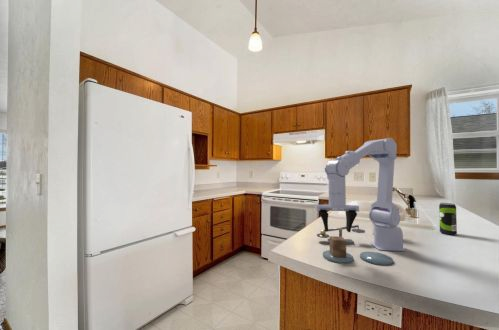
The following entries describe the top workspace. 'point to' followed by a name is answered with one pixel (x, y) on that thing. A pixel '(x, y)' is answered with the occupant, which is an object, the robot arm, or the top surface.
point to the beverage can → (448, 218)
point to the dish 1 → (338, 260)
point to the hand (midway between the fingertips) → (337, 231)
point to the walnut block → (337, 247)
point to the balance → (340, 233)
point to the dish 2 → (376, 258)
